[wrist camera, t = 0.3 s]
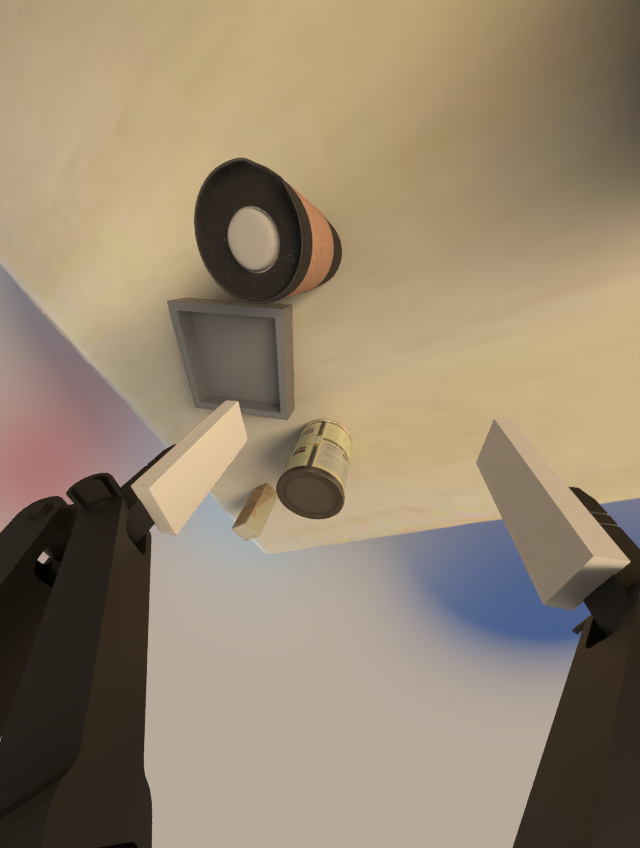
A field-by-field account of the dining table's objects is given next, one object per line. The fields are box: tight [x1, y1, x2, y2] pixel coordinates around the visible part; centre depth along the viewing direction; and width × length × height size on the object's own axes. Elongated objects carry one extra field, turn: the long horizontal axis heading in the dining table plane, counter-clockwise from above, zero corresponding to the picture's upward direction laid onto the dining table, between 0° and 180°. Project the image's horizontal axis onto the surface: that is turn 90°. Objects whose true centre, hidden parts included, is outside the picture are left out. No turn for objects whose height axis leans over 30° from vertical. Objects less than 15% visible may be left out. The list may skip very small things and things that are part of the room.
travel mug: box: [194, 158, 342, 304], centre depth 24 cm, size 8×8×20 cm
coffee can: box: [276, 419, 352, 519], centre depth 42 cm, size 10×10×14 cm
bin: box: [167, 298, 294, 420], centre depth 41 cm, size 17×17×4 cm
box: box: [232, 484, 278, 540], centre depth 55 cm, size 5×4×11 cm
